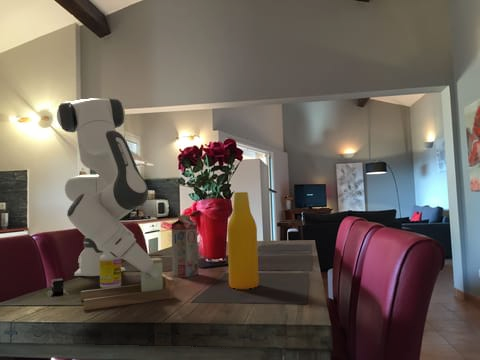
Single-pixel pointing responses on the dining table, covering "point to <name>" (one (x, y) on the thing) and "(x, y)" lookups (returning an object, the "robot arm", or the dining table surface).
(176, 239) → the juice carton
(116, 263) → the supplement bottle
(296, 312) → the dining table surface
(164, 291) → the bay
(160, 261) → the cream tall block
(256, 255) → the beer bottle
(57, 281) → the black box
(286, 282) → the dining table surface
